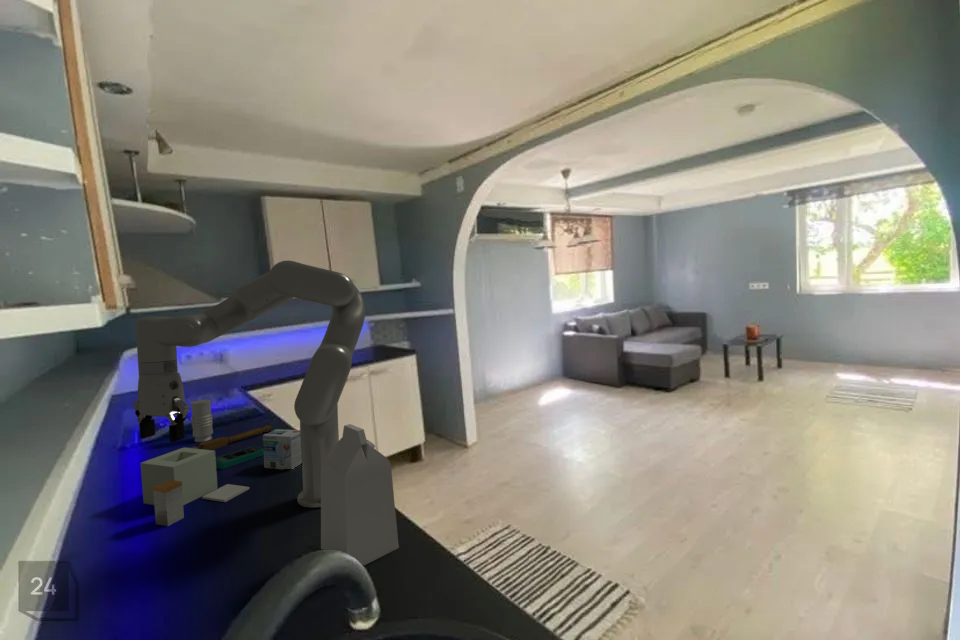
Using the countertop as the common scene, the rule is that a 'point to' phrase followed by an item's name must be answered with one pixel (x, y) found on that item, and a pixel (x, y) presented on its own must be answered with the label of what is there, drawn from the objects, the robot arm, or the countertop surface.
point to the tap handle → (230, 439)
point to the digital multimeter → (238, 457)
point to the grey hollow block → (181, 473)
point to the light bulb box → (282, 449)
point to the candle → (201, 420)
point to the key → (168, 502)
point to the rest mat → (225, 493)
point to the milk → (357, 499)
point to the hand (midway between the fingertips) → (162, 438)
